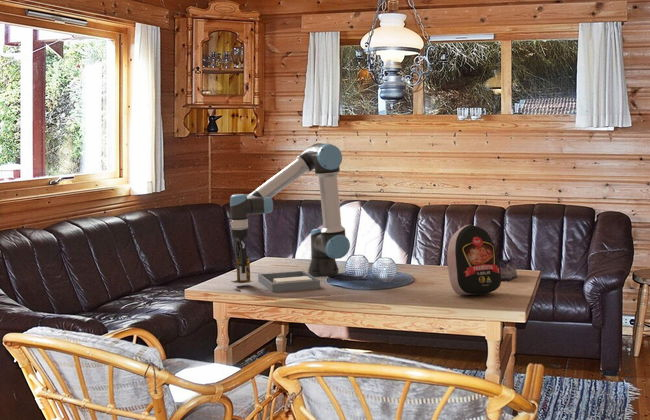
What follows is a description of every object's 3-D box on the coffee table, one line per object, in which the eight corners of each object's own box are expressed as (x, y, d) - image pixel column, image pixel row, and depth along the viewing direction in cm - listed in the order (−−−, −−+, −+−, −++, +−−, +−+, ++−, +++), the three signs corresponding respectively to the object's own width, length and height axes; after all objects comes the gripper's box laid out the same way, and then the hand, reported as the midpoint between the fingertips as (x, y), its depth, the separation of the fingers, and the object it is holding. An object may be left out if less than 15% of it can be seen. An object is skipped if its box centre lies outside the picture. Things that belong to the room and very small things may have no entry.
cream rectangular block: (307, 284, 402) (306, 276, 401) (312, 287, 394) (312, 279, 394) (273, 287, 397) (273, 278, 396) (277, 290, 389) (277, 281, 389)
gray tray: (303, 280, 418) (303, 270, 417) (320, 290, 393) (319, 280, 393) (258, 283, 411) (258, 274, 411) (272, 294, 387) (272, 284, 386)
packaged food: (463, 301, 367) (464, 230, 364) (439, 292, 385) (439, 224, 382) (507, 296, 376) (508, 226, 372) (481, 288, 394) (482, 221, 390)
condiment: (254, 281, 400) (252, 255, 398) (237, 284, 395) (236, 258, 394) (246, 279, 406) (245, 253, 404) (230, 281, 401) (228, 256, 400)
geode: (497, 273, 429) (500, 253, 427) (520, 278, 423) (523, 258, 422) (484, 279, 411) (488, 258, 409) (508, 284, 405) (512, 263, 404)
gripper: (227, 226, 405) (229, 275, 408) (236, 231, 387) (238, 283, 390) (243, 225, 408) (245, 274, 410) (252, 230, 390) (254, 281, 392)
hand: (241, 278), depth 400 cm, fingers closed on condiment, 6 cm apart
